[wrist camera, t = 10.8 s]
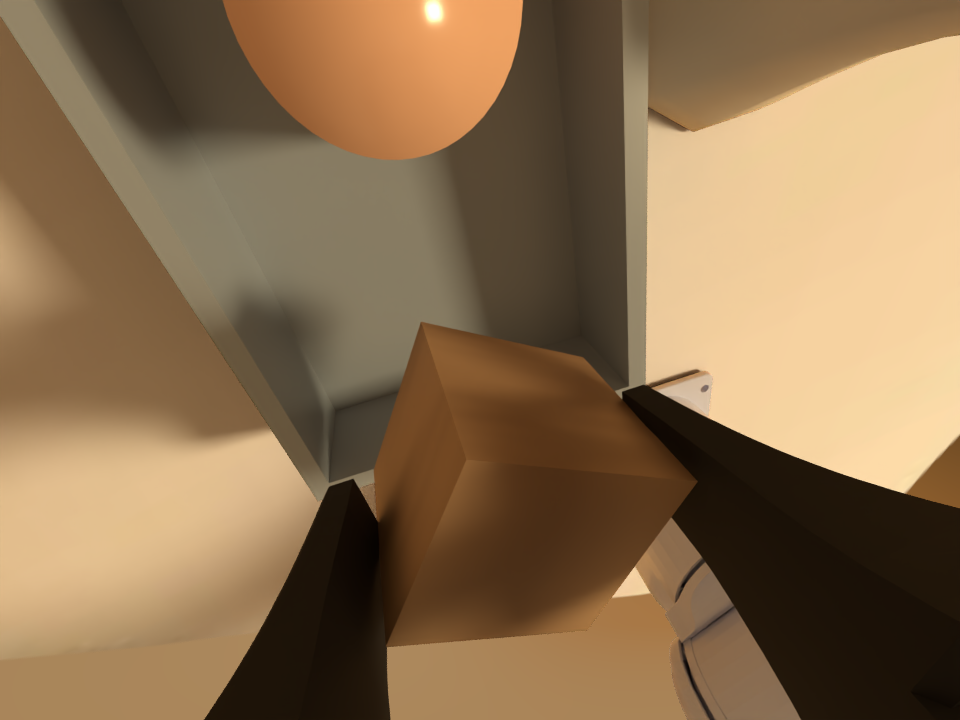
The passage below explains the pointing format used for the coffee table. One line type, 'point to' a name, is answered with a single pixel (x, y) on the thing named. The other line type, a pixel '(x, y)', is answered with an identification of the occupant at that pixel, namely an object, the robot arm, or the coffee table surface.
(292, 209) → the slate tote
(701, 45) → the flask
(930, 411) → the coffee table surface
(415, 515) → the walnut cube
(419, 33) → the terracotta cylinder
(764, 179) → the coffee table surface
